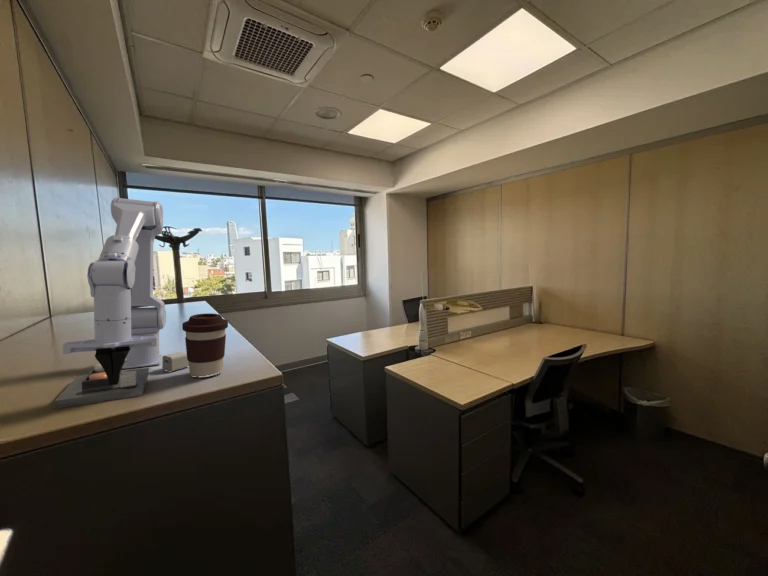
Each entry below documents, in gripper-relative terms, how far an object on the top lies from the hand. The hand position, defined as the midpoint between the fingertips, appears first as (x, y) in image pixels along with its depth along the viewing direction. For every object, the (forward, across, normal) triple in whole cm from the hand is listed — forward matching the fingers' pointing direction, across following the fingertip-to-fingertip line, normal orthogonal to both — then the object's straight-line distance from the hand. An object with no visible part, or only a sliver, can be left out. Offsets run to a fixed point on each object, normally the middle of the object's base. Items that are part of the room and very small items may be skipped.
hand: (114, 383), depth 65 cm
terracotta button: (+1, -3, +5) cm, 6 cm away
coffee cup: (+3, +17, +6) cm, 18 cm away
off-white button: (0, -3, +10) cm, 11 cm away
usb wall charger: (+3, +12, +15) cm, 19 cm away
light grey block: (+1, +2, 0) cm, 2 cm away
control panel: (+3, -2, +5) cm, 6 cm away
